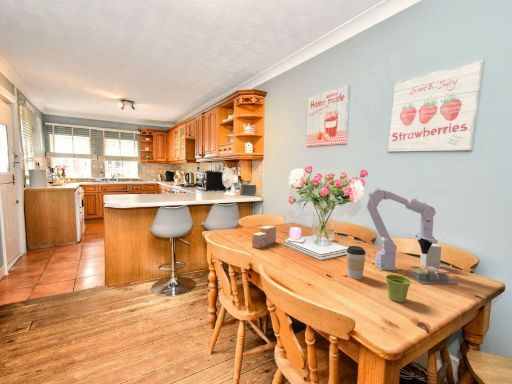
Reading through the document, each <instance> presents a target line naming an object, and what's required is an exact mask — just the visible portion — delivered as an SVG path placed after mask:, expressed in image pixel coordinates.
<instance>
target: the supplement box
mask: <svg viewBox="0 0 512 384" xmlns="http://www.w3.org/2000/svg"><path fill="white" fill-rule="evenodd" d="M441 254H442V246H441V245H439V244H438V243H437V244H432V245H431V247H430V248H429V251H428V253H427V254H423V253H422V251H421V250H420V257H419V258H420V260H419V264H420V265H421V266H422V267H424V268H425V267H434V268H436V269H441V257H442V256H441Z"/></svg>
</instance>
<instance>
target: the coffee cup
mask: <svg viewBox="0 0 512 384" xmlns="http://www.w3.org/2000/svg"><path fill="white" fill-rule="evenodd" d="M366 254H367V252H366V250H365V249H364V248H363V247H361V246H358V245H351V246H350V245H349V246H348V248H347V249H346V264H347V265H346V267H347V277H348V278H349V279H354V280H362V279H363V275H364V268H365V262H366Z"/></svg>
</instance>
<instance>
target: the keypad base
mask: <svg viewBox="0 0 512 384" xmlns="http://www.w3.org/2000/svg"><path fill="white" fill-rule="evenodd" d="M405 274H406V275H407V276H408V277H410V278H412V279H413V280H415V281H417V282H418V283H419V284H421V285H458V283H457V282H455V281H454V280H452V279H451V278H449V274H446V275H440V274H439V273H438V272H435V275H429V274H428V272H427V274H423V275H418V274H417V273H416V272H414V273H412V272H411V273H410V272H409V273H408V272H407V273H405Z"/></svg>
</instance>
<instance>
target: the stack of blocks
mask: <svg viewBox="0 0 512 384" xmlns="http://www.w3.org/2000/svg"><path fill="white" fill-rule="evenodd" d="M276 234H277V226H276V225H264V226H261V227H259V232H256V233H252V240H251V241H252V248H254V247H255V248H254V249H259V248H260V249H263V248H265V247H267V246H269V244H270V245H272V244H275V243H276V242H277V240H276V239H277V238H276V237H277V235H276ZM274 242H275V243H274ZM271 243H272V244H271ZM264 246H265V247H264Z"/></svg>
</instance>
